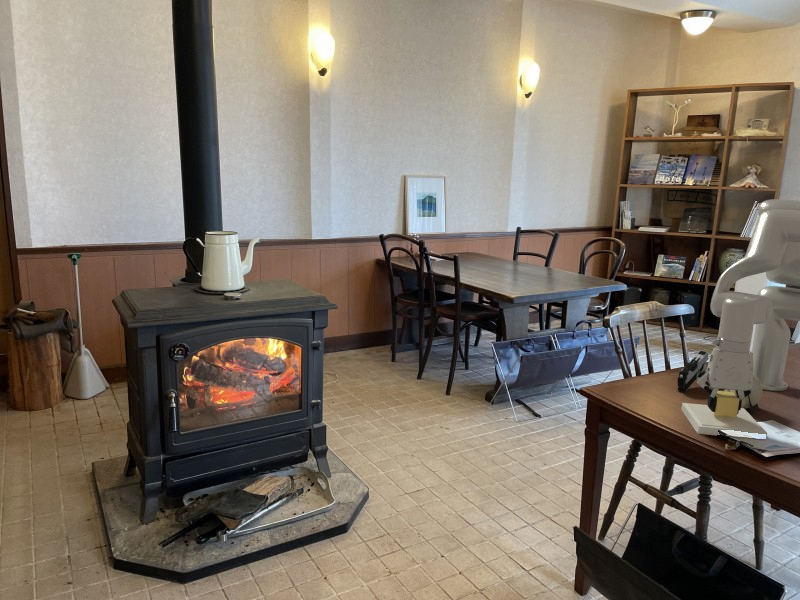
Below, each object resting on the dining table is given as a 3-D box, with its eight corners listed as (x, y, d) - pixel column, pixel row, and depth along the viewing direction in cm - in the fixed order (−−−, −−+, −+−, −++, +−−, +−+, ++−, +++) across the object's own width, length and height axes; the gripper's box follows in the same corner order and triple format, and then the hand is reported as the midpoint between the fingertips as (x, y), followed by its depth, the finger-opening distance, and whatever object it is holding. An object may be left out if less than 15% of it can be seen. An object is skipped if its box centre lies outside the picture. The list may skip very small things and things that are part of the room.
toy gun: (676, 402, 185) (676, 373, 180) (700, 375, 195) (701, 347, 190) (684, 405, 183) (684, 375, 179) (708, 377, 193) (709, 348, 189)
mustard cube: (709, 407, 162) (712, 390, 160) (729, 409, 161) (732, 392, 160) (715, 415, 157) (718, 397, 156) (736, 417, 156) (739, 399, 155)
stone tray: (681, 409, 168) (682, 402, 168) (742, 415, 166) (743, 407, 165) (697, 433, 153) (698, 425, 153) (765, 440, 150) (767, 432, 150)
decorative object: (723, 417, 169) (730, 407, 176) (763, 417, 163) (769, 407, 170) (715, 374, 169) (723, 366, 176) (755, 373, 162) (761, 365, 169)
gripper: (702, 346, 153) (692, 413, 157) (775, 352, 150) (763, 420, 154) (694, 338, 160) (685, 402, 164) (763, 343, 157) (752, 408, 161)
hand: (723, 410), depth 159 cm, fingers closed on mustard cube, 5 cm apart
